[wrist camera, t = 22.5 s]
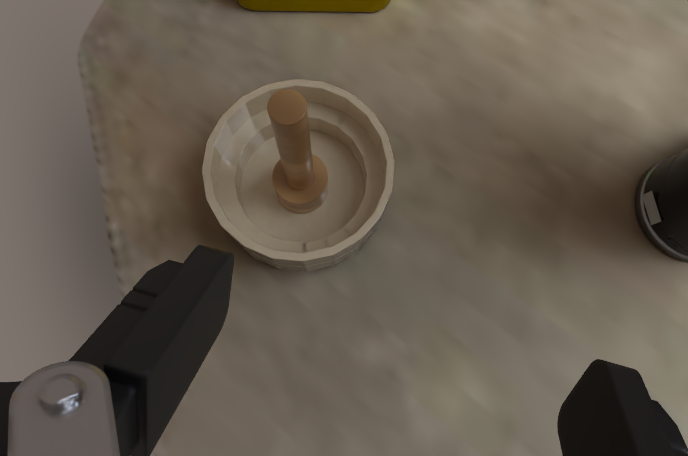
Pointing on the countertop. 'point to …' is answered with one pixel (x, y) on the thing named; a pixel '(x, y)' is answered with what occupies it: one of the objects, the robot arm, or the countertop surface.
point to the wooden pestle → (295, 155)
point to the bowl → (262, 155)
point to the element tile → (315, 5)
